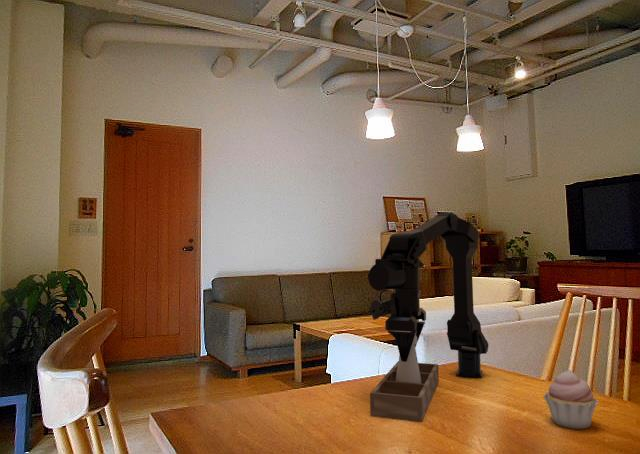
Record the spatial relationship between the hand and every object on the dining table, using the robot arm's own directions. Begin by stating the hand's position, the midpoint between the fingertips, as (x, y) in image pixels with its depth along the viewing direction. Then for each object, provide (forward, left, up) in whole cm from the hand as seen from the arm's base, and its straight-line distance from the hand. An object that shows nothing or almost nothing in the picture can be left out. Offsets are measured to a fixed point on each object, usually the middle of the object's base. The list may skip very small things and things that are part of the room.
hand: (407, 357), depth 107 cm
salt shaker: (0, 0, -8) cm, 8 cm away
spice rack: (0, 0, -9) cm, 9 cm away
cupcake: (+6, +32, -9) cm, 34 cm away
